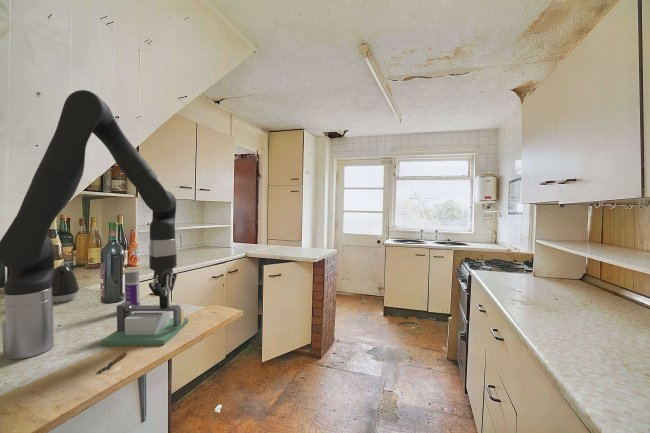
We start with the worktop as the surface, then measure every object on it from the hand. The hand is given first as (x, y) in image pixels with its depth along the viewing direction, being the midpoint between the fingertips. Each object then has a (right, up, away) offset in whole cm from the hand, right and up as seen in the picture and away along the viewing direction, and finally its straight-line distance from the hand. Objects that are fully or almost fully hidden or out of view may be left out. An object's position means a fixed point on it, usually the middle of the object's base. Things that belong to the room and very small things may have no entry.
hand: (164, 306), depth 93 cm
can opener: (-4, -10, -18) cm, 21 cm away
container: (-24, -8, +21) cm, 32 cm away
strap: (-4, -6, 0) cm, 7 cm away
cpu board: (-5, -8, 0) cm, 10 cm away
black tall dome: (-59, -7, +30) cm, 66 cm away
